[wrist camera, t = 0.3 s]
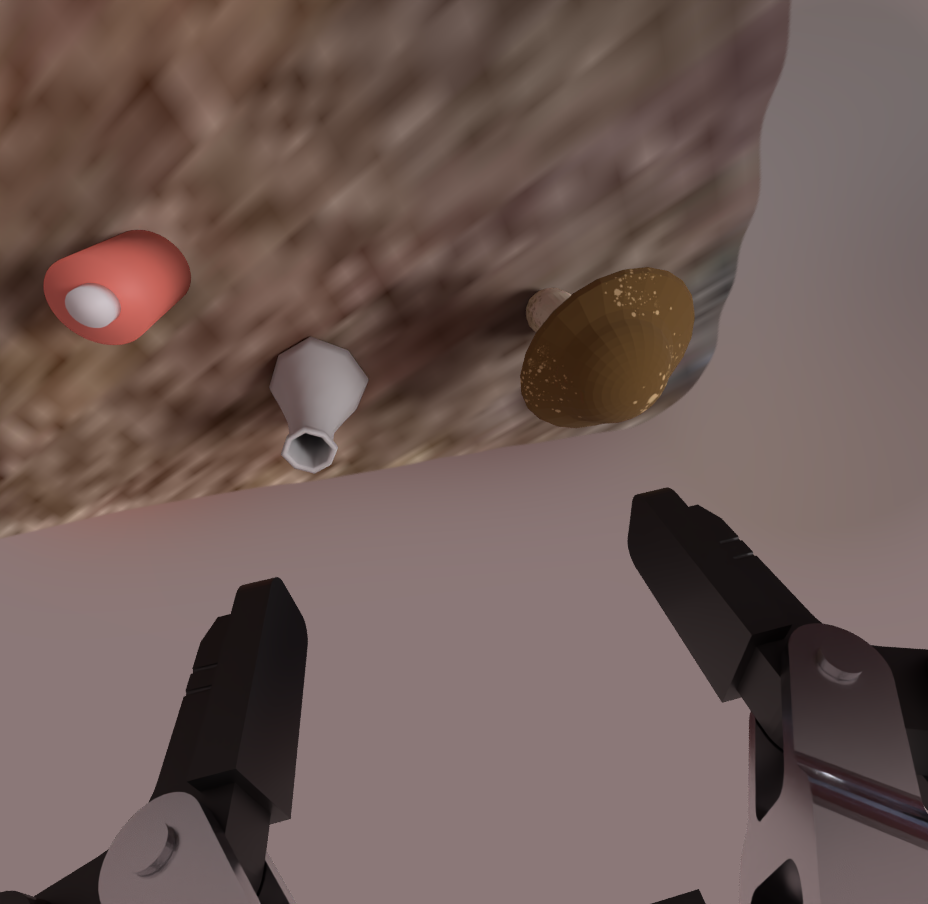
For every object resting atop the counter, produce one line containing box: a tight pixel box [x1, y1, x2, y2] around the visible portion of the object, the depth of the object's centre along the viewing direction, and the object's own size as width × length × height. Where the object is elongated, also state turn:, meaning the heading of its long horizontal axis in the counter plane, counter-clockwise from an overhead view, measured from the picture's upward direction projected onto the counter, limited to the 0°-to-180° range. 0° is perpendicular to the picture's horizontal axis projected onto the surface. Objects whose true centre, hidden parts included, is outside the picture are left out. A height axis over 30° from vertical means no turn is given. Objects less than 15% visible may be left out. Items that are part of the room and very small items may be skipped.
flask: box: [269, 337, 369, 473], centre depth 32 cm, size 7×7×10 cm
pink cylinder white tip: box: [44, 230, 191, 345], centre depth 26 cm, size 5×5×8 cm
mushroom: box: [520, 267, 694, 428], centre depth 30 cm, size 9×11×15 cm
